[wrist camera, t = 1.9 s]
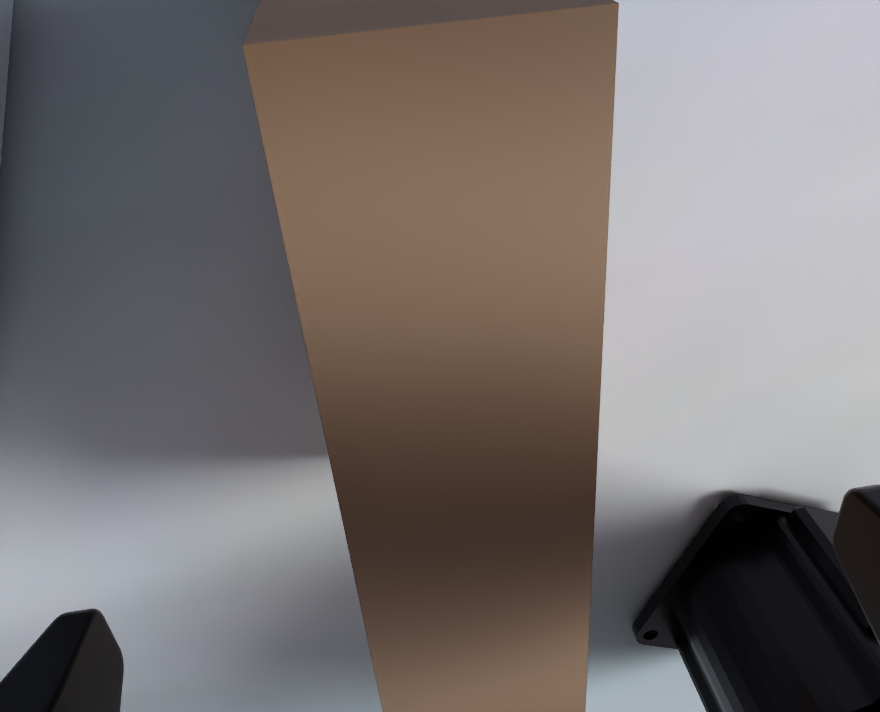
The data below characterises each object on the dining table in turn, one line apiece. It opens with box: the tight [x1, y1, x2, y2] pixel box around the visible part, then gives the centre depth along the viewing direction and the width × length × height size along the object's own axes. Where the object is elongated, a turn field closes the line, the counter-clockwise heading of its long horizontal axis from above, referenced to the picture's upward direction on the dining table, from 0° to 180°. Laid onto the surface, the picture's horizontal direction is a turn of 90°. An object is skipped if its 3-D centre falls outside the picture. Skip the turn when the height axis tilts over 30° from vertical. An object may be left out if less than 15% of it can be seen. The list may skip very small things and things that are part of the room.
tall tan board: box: [242, 0, 619, 712], centre depth 13 cm, size 12×3×9 cm, turn 4°
